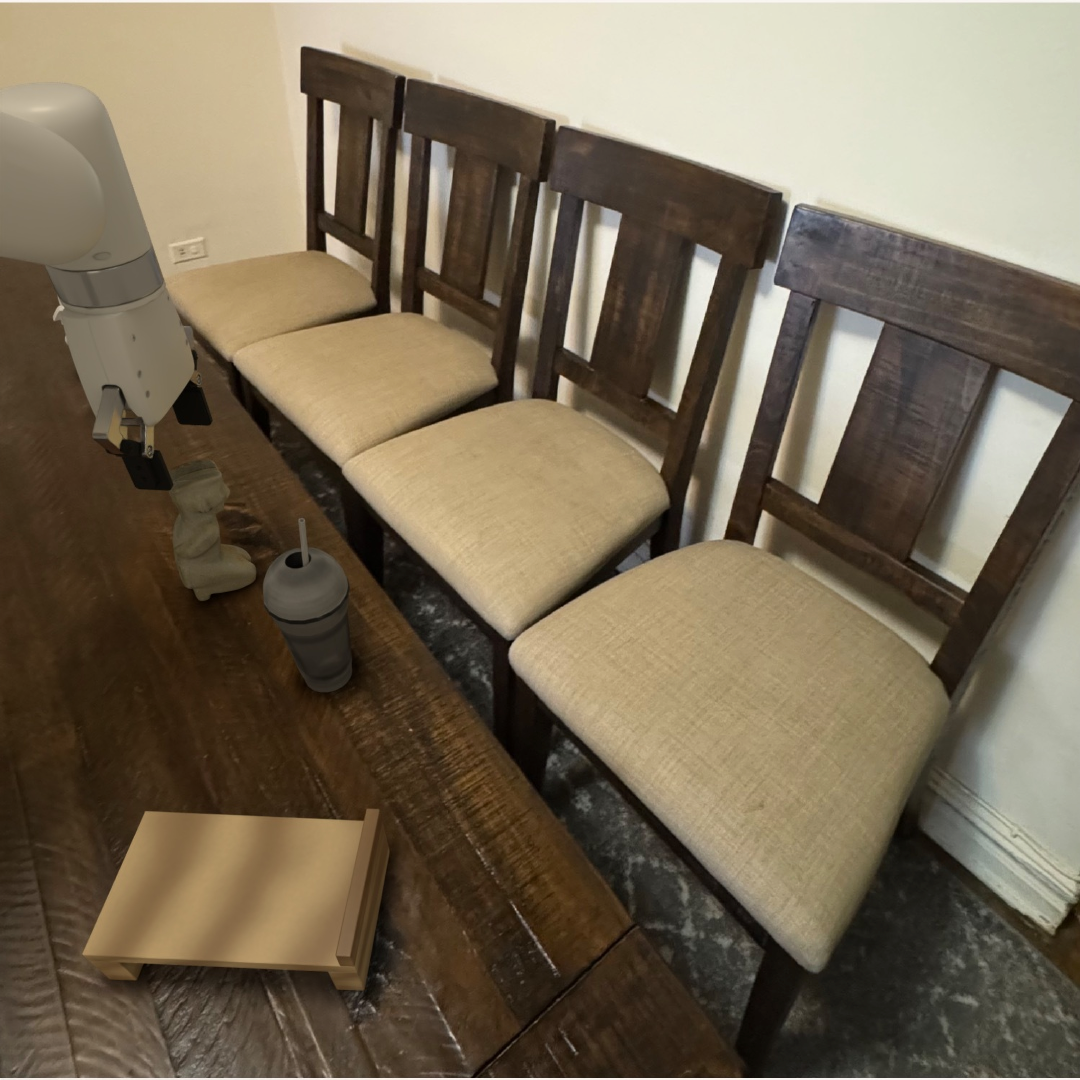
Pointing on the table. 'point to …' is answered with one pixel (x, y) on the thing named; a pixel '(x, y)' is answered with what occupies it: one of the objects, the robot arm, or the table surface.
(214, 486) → the sculpture
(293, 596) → the beverage cup
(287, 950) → the shelf
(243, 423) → the table surface
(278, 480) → the table surface
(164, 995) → the table surface
